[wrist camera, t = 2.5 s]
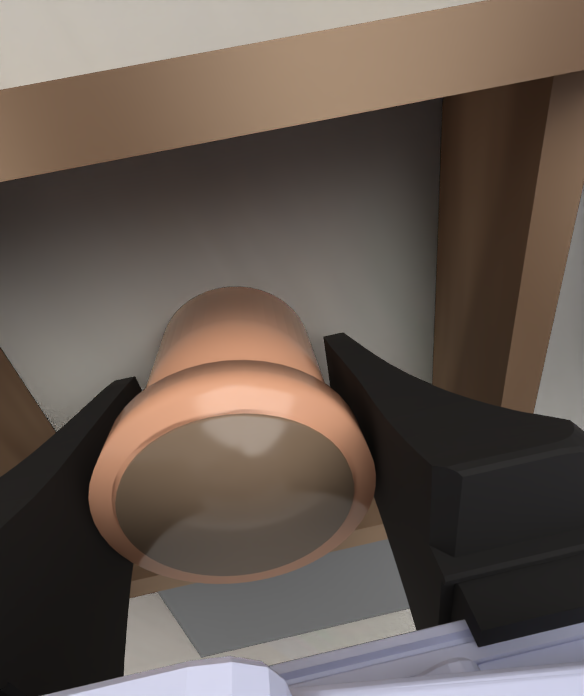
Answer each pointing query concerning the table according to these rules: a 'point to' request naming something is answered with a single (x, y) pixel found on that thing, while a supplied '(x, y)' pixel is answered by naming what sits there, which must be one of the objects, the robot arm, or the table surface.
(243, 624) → the slate mat
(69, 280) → the table surface
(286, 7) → the table surface
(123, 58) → the table surface
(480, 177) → the frame
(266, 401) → the terracotta pot
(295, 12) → the table surface
